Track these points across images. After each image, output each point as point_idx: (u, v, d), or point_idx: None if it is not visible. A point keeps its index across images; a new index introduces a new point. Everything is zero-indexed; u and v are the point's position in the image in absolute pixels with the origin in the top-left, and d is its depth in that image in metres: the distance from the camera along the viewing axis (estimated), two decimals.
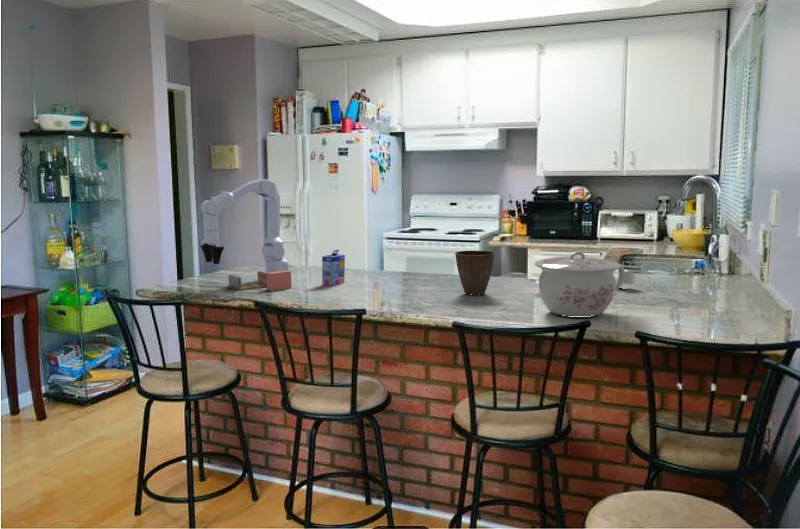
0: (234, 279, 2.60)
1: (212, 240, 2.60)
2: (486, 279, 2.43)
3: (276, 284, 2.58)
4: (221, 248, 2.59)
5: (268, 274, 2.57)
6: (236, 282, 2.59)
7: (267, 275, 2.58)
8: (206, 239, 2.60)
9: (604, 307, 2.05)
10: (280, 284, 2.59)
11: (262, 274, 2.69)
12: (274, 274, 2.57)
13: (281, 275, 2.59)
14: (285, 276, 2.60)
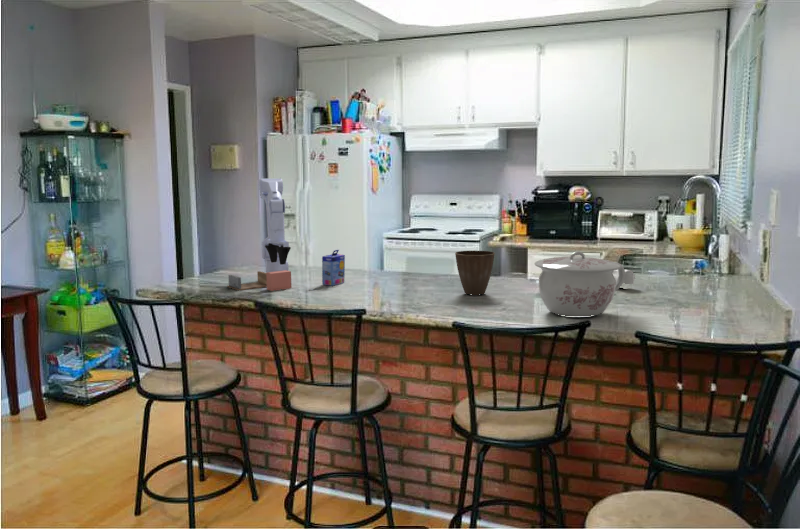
0: (234, 279, 2.60)
1: (279, 240, 2.56)
2: (486, 279, 2.43)
3: (276, 284, 2.58)
4: (288, 248, 2.55)
5: (268, 274, 2.57)
6: (236, 282, 2.59)
7: (267, 275, 2.58)
8: (273, 239, 2.56)
9: (604, 307, 2.05)
10: (280, 284, 2.59)
11: (262, 274, 2.69)
12: (274, 274, 2.57)
13: (281, 275, 2.59)
14: (285, 276, 2.60)
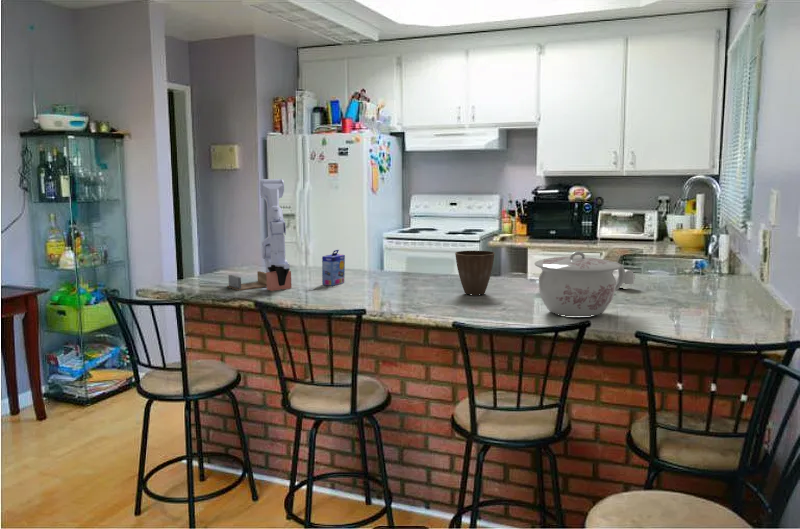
0: (234, 279, 2.60)
1: (279, 262, 2.57)
2: (486, 279, 2.43)
3: (276, 284, 2.58)
4: (287, 269, 2.57)
5: (268, 274, 2.57)
6: (236, 282, 2.59)
7: (267, 275, 2.58)
8: (273, 261, 2.57)
9: (604, 307, 2.05)
10: None
11: (262, 274, 2.69)
12: (274, 274, 2.57)
13: None
14: None
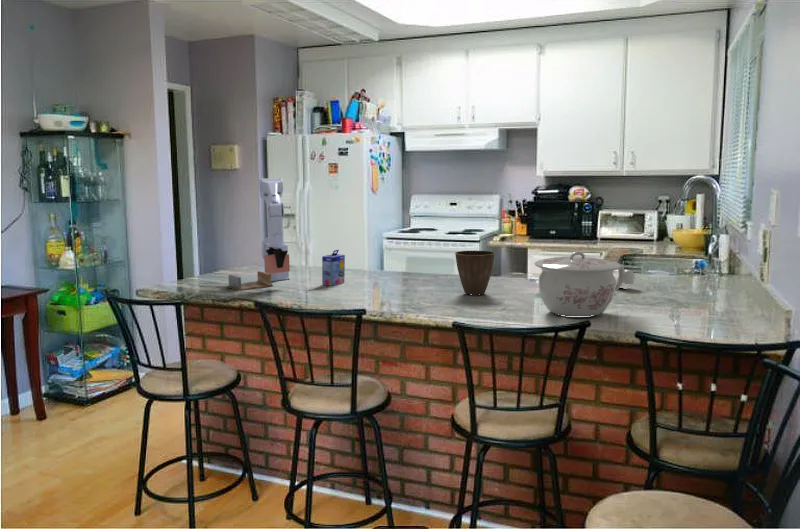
0: (234, 279, 2.60)
1: (278, 244, 2.56)
2: (486, 279, 2.43)
3: (274, 267, 2.57)
4: (285, 252, 2.57)
5: (266, 257, 2.57)
6: (236, 282, 2.59)
7: (265, 258, 2.57)
8: (271, 243, 2.56)
9: (604, 307, 2.05)
10: None
11: (262, 274, 2.69)
12: (272, 257, 2.56)
13: None
14: None
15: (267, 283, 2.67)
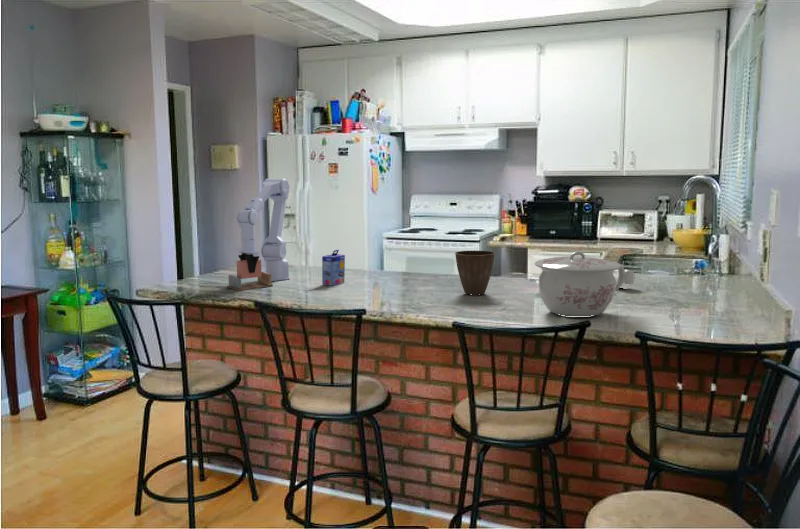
0: (234, 279, 2.60)
1: (249, 249, 2.61)
2: (486, 279, 2.43)
3: (246, 273, 2.62)
4: (257, 257, 2.62)
5: (238, 262, 2.62)
6: (236, 282, 2.59)
7: (237, 263, 2.62)
8: (243, 248, 2.61)
9: (604, 307, 2.05)
10: (250, 273, 2.63)
11: (262, 274, 2.69)
12: (244, 262, 2.61)
13: None
14: None
15: (267, 283, 2.67)
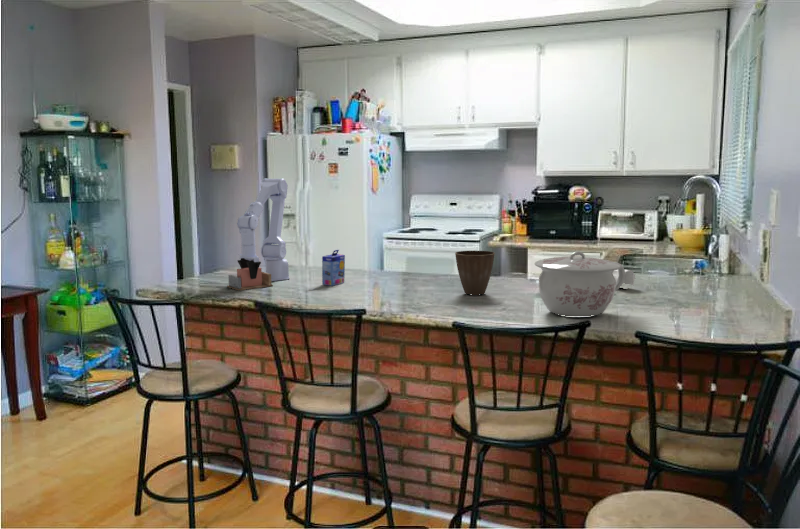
0: (234, 279, 2.60)
1: (250, 255, 2.61)
2: (486, 279, 2.43)
3: (246, 281, 2.63)
4: (258, 263, 2.61)
5: (238, 270, 2.62)
6: (236, 282, 2.59)
7: (237, 271, 2.63)
8: (244, 254, 2.61)
9: (604, 307, 2.05)
10: (250, 281, 2.64)
11: (262, 274, 2.69)
12: (244, 270, 2.61)
13: None
14: None
15: (267, 283, 2.67)
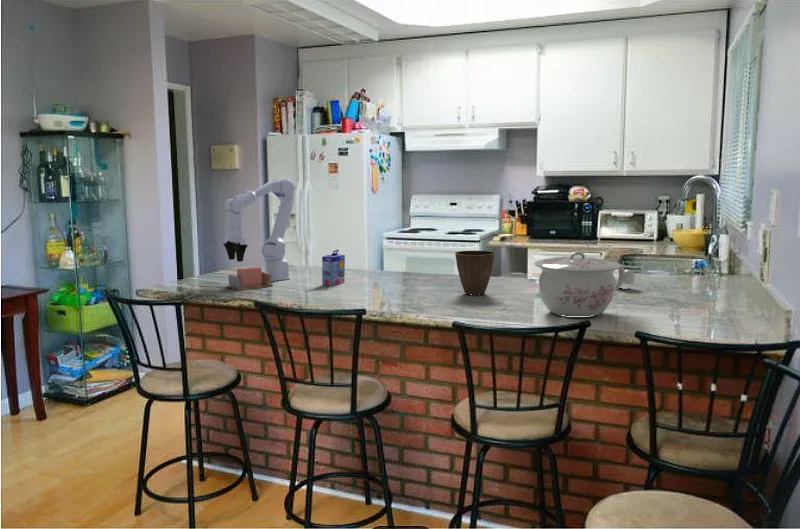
0: (234, 279, 2.60)
1: (236, 238, 2.64)
2: (486, 279, 2.43)
3: (246, 281, 2.63)
4: (245, 246, 2.64)
5: (238, 270, 2.62)
6: (236, 282, 2.59)
7: (237, 271, 2.63)
8: (230, 237, 2.64)
9: (604, 307, 2.05)
10: (250, 281, 2.64)
11: (262, 274, 2.69)
12: (244, 270, 2.61)
13: (252, 271, 2.64)
14: (255, 273, 2.65)
15: (267, 283, 2.67)
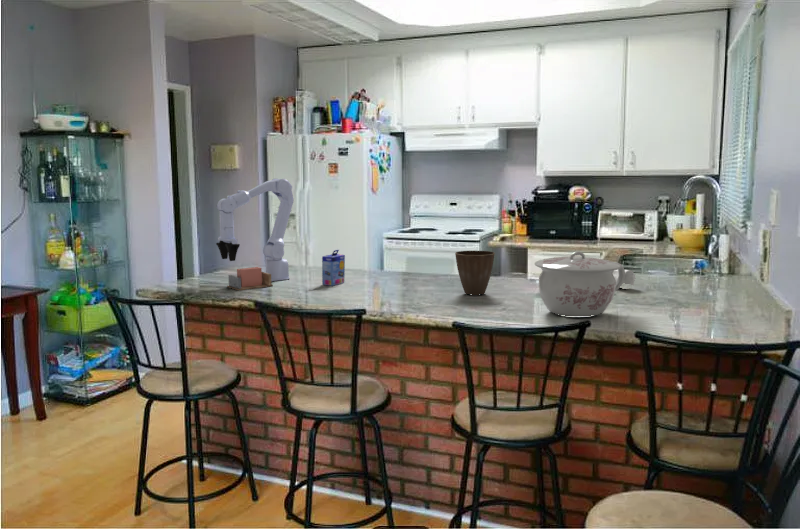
0: (234, 279, 2.60)
1: (228, 237, 2.66)
2: (486, 279, 2.43)
3: (246, 281, 2.63)
4: (237, 245, 2.66)
5: (238, 270, 2.62)
6: (236, 282, 2.59)
7: (237, 271, 2.63)
8: (222, 236, 2.67)
9: (604, 307, 2.05)
10: (250, 281, 2.64)
11: (262, 274, 2.69)
12: (244, 270, 2.61)
13: (252, 271, 2.64)
14: (255, 273, 2.65)
15: (267, 283, 2.67)
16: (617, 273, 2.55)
